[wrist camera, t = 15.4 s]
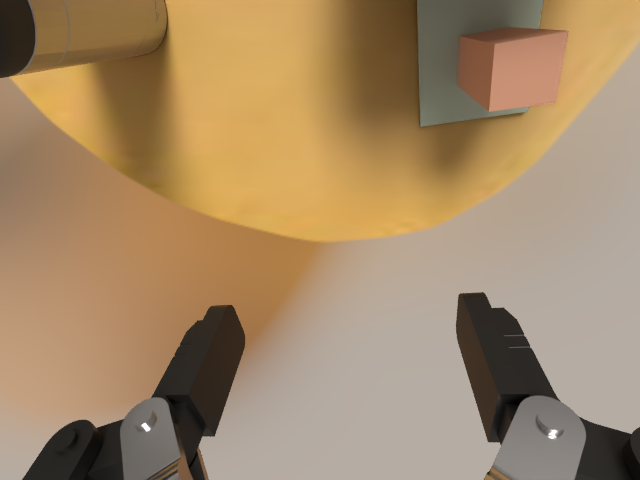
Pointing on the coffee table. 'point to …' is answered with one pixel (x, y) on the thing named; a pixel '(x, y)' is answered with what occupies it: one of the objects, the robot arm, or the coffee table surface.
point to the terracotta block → (511, 66)
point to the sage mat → (442, 51)
